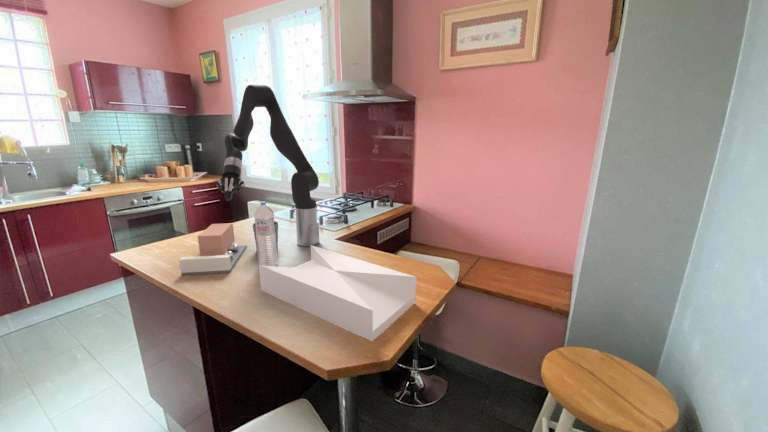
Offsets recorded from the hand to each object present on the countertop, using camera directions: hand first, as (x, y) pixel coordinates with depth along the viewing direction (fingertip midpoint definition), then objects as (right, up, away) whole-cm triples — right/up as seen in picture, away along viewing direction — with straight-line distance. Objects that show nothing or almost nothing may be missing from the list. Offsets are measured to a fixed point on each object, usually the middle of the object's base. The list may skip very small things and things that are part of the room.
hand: (227, 199), depth 140 cm
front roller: (+4, -24, -16) cm, 29 cm away
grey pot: (+19, -22, -4) cm, 30 cm away
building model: (+54, -33, -40) cm, 76 cm away
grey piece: (+3, -25, -15) cm, 29 cm away
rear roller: (+2, -22, -9) cm, 24 cm away
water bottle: (+25, -26, -19) cm, 41 cm away
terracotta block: (+3, -20, -13) cm, 24 cm away
